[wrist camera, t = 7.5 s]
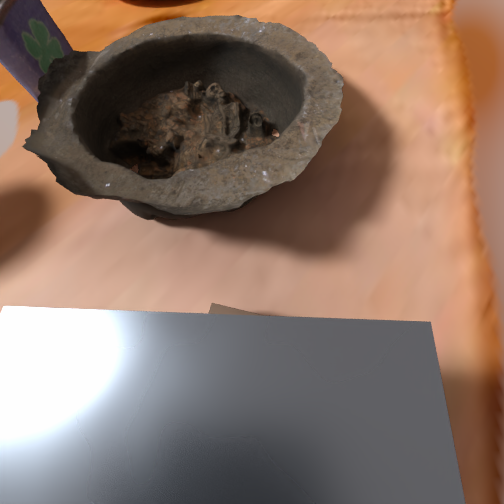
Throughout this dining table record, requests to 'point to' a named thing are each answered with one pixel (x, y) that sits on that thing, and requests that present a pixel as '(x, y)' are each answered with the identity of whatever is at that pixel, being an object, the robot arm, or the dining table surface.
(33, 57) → the flask
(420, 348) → the slate tin
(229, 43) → the stone bowl
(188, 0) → the dining table surface
